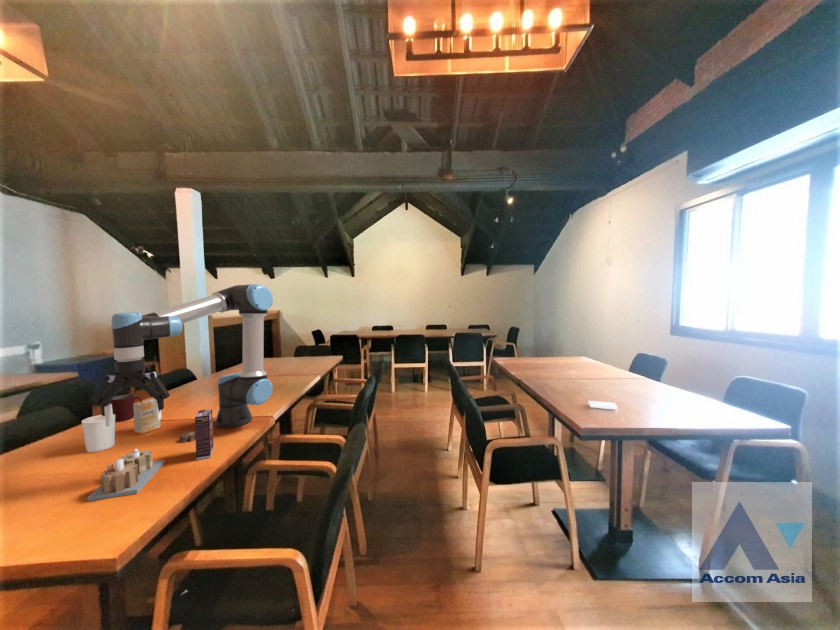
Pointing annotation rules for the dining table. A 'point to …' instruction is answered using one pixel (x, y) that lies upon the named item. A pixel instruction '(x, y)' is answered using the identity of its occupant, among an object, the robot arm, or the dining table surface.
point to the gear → (187, 436)
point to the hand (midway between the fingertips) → (134, 422)
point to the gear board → (129, 490)
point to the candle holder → (98, 433)
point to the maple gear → (140, 460)
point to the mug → (123, 407)
